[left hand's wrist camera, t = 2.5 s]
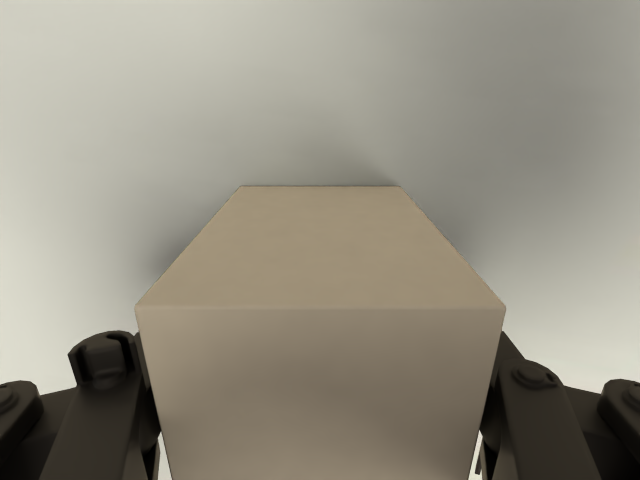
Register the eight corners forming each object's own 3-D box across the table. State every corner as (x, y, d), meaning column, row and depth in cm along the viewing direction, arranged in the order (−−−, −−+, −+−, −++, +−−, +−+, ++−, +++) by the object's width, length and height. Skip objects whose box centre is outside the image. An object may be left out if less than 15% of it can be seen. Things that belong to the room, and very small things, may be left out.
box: (239, 185, 14) (131, 306, 6) (400, 185, 14) (509, 306, 6) (267, 525, 21) (237, 777, 13) (372, 525, 21) (402, 777, 13)
